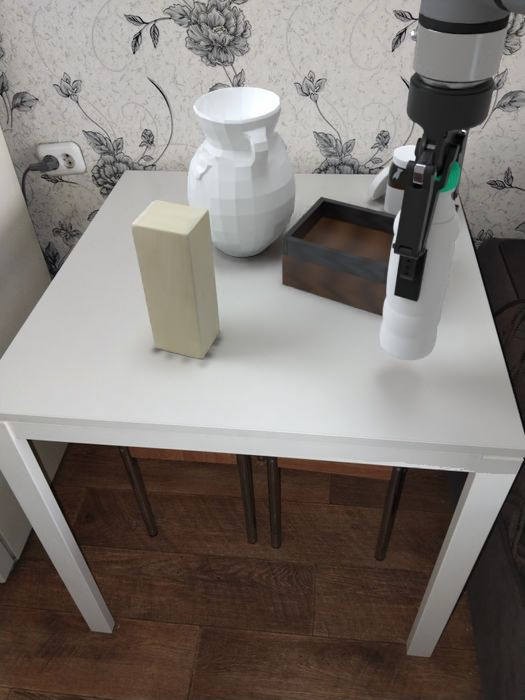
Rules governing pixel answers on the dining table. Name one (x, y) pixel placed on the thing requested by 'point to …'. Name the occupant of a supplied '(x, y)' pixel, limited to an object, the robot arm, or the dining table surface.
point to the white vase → (242, 170)
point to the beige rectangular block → (178, 276)
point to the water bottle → (424, 315)
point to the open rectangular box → (340, 254)
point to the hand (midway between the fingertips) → (417, 278)
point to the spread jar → (393, 180)
